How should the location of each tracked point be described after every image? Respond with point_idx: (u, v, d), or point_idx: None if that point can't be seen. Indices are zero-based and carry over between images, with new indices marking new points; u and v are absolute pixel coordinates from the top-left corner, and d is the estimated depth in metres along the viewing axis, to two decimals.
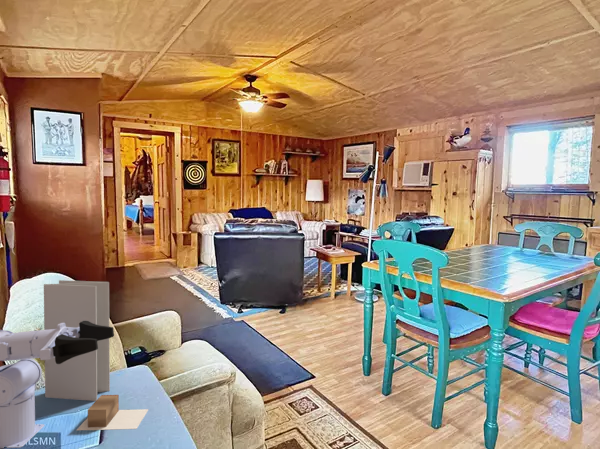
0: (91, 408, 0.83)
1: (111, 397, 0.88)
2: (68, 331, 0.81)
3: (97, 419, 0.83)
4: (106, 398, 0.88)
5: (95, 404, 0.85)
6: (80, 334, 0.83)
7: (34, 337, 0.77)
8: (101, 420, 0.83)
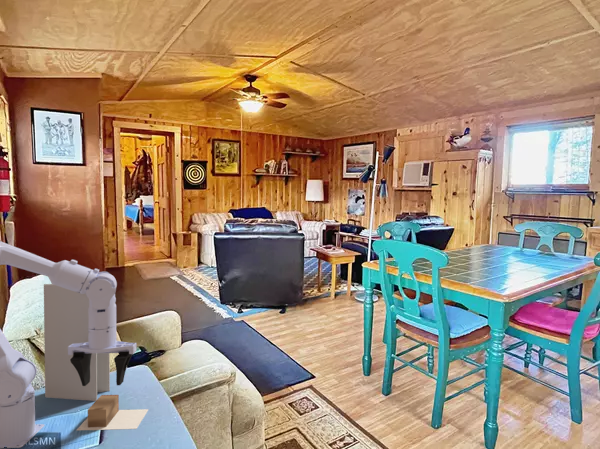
0: (91, 408, 0.83)
1: (111, 397, 0.88)
2: None
3: (97, 419, 0.83)
4: (106, 398, 0.88)
5: (95, 404, 0.85)
6: None
7: None
8: (101, 420, 0.83)
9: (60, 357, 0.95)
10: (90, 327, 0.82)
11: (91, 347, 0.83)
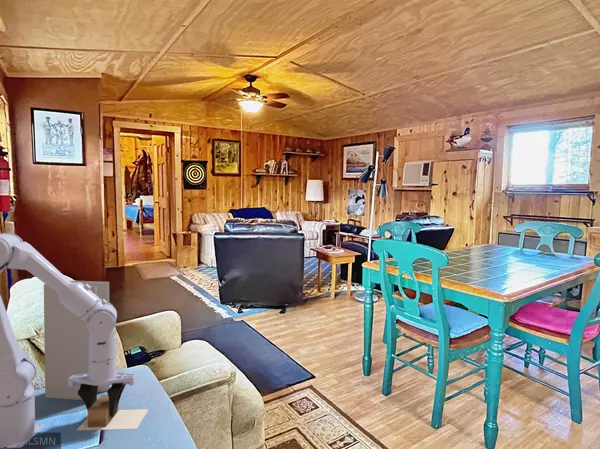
0: (91, 408, 0.83)
1: None
2: None
3: (97, 419, 0.83)
4: (106, 398, 0.88)
5: (95, 404, 0.85)
6: None
7: None
8: (101, 420, 0.83)
9: (60, 357, 0.95)
10: (90, 359, 0.83)
11: (91, 379, 0.83)
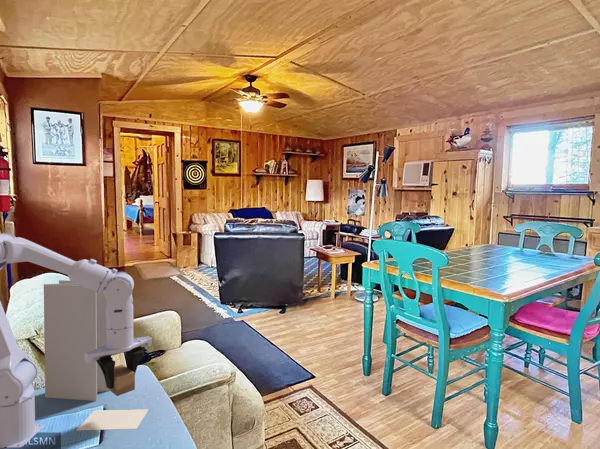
0: (118, 376, 0.83)
1: (119, 367, 0.88)
2: None
3: (126, 385, 0.84)
4: (116, 369, 0.87)
5: (115, 374, 0.84)
6: None
7: None
8: (130, 384, 0.85)
9: (60, 357, 0.95)
10: (107, 327, 0.83)
11: (118, 347, 0.83)
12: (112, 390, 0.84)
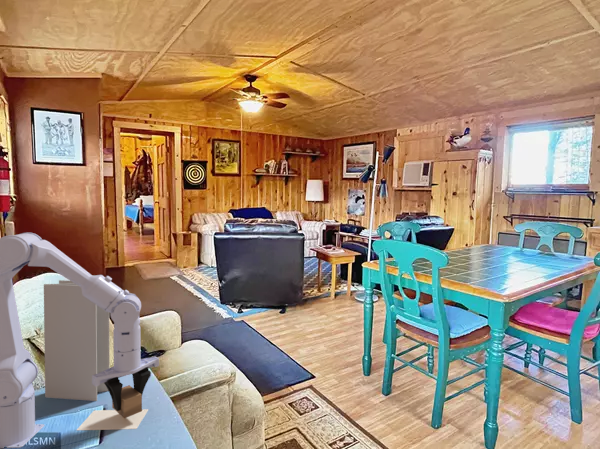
0: (125, 399, 0.83)
1: (126, 388, 0.88)
2: None
3: (133, 407, 0.84)
4: (123, 390, 0.87)
5: (122, 396, 0.84)
6: None
7: None
8: (137, 406, 0.85)
9: (60, 357, 0.95)
10: (115, 349, 0.83)
11: (126, 370, 0.83)
12: (119, 412, 0.84)
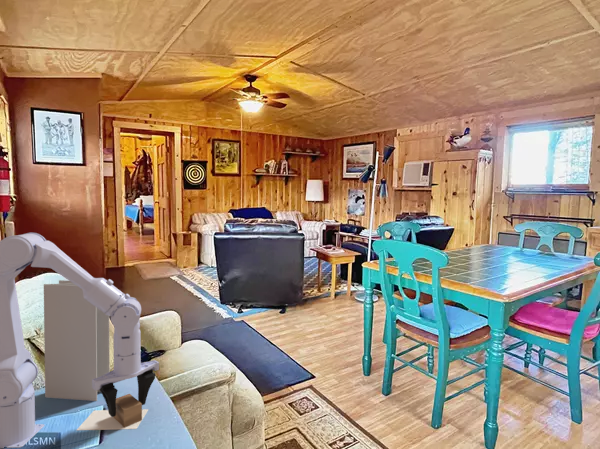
0: (125, 408, 0.83)
1: (126, 397, 0.88)
2: None
3: (133, 416, 0.84)
4: (123, 399, 0.87)
5: (122, 405, 0.85)
6: None
7: None
8: (137, 415, 0.85)
9: (60, 357, 0.95)
10: (115, 353, 0.83)
11: (126, 374, 0.83)
12: (119, 421, 0.84)
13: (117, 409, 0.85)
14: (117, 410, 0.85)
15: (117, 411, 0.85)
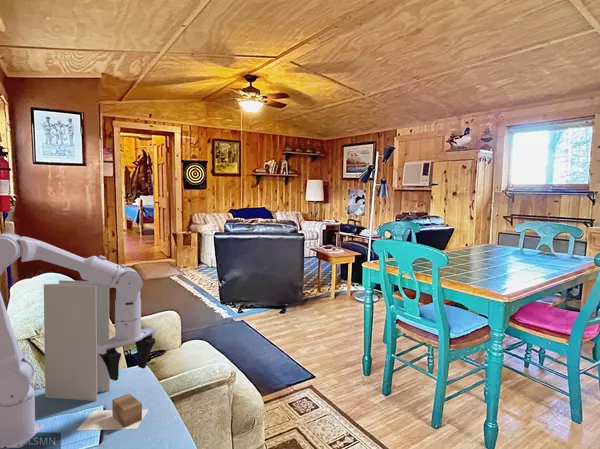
0: (125, 408, 0.83)
1: (126, 397, 0.88)
2: None
3: (133, 416, 0.84)
4: (123, 399, 0.87)
5: (122, 405, 0.85)
6: None
7: None
8: (137, 415, 0.85)
9: (60, 357, 0.95)
10: (118, 319, 0.87)
11: (129, 338, 0.87)
12: (119, 421, 0.84)
13: (117, 409, 0.85)
14: (117, 410, 0.85)
15: (117, 411, 0.85)
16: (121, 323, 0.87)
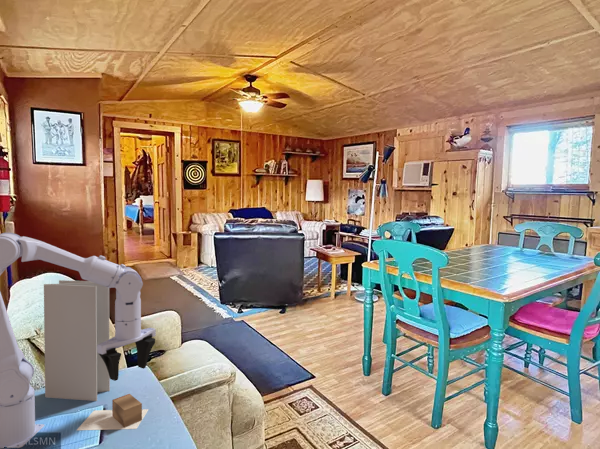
0: (125, 408, 0.83)
1: (126, 397, 0.88)
2: None
3: (133, 416, 0.84)
4: (123, 399, 0.87)
5: (122, 405, 0.85)
6: None
7: None
8: (137, 415, 0.85)
9: (60, 357, 0.95)
10: (118, 319, 0.87)
11: (129, 338, 0.87)
12: (119, 421, 0.84)
13: (117, 409, 0.85)
14: (117, 410, 0.85)
15: (117, 411, 0.85)
16: (121, 323, 0.87)
